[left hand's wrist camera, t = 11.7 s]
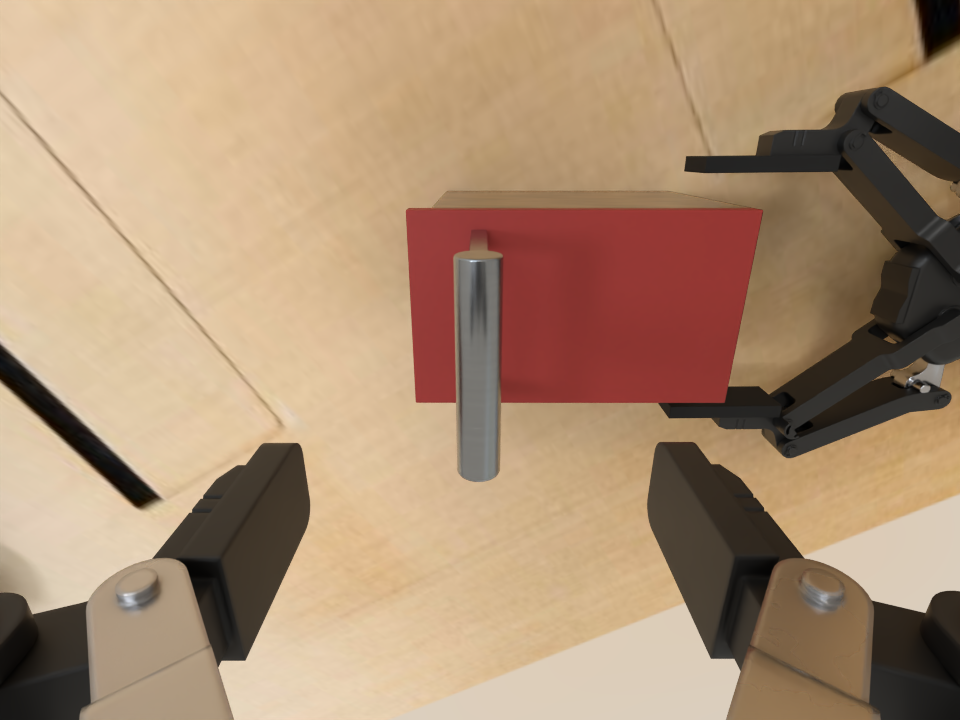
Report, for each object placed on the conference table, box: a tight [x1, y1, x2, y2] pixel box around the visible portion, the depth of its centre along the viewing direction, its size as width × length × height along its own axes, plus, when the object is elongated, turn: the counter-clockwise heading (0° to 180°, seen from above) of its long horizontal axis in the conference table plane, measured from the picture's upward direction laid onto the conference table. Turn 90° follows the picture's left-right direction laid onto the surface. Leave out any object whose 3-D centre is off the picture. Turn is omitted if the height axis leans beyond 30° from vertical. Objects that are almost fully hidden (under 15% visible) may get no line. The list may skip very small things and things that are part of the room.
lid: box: [406, 208, 763, 482], centre depth 20 cm, size 15×9×8 cm, turn 90°
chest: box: [432, 191, 749, 208], centre depth 29 cm, size 14×9×11 cm, turn 90°
